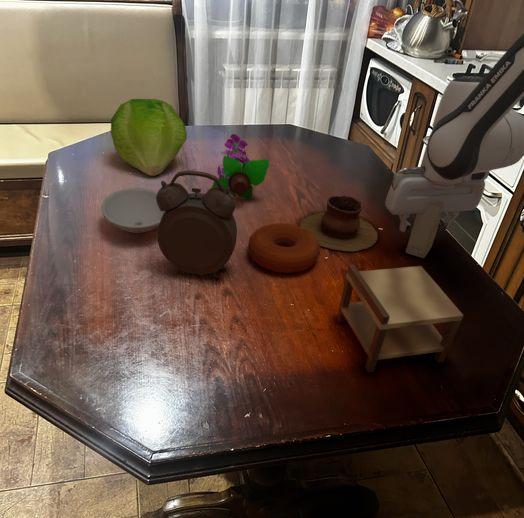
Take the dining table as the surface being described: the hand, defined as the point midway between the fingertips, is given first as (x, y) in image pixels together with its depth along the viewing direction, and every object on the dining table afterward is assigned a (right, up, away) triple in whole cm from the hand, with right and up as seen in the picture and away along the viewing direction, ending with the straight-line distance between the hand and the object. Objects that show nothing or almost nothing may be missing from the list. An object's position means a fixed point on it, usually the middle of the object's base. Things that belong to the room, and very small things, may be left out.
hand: (423, 229), depth 110 cm
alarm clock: (-47, -10, -9) cm, 49 cm away
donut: (-30, -7, -3) cm, 31 cm away
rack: (-13, -24, -20) cm, 34 cm away
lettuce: (-64, +23, +26) cm, 73 cm away
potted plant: (-42, +19, +24) cm, 52 cm away
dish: (-61, +1, +1) cm, 61 cm away
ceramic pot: (-17, +1, +7) cm, 19 cm away
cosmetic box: (0, -4, +4) cm, 5 cm away
